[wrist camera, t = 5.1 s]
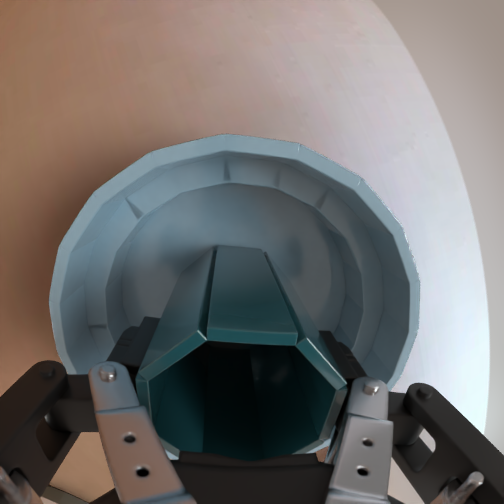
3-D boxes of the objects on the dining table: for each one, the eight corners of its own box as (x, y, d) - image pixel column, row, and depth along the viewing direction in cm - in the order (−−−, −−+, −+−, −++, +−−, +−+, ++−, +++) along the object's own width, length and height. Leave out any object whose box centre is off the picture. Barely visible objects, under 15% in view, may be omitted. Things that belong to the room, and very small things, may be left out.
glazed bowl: (387, 175, 16) (452, 180, 10) (333, 402, 20) (359, 461, 14) (104, 142, 15) (47, 130, 9) (111, 387, 18) (84, 446, 13)
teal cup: (297, 252, 16) (366, 334, 8) (280, 351, 18) (315, 469, 9) (180, 241, 16) (129, 318, 7) (177, 343, 17) (147, 463, 9)
